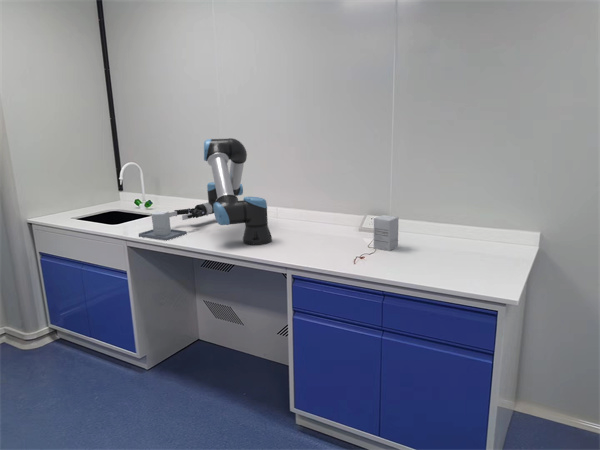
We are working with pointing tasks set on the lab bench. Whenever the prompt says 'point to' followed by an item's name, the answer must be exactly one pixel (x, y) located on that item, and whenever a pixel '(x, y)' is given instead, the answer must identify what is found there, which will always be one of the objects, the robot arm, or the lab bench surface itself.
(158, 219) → the supplement box
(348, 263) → the lab bench surface
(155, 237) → the tray
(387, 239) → the supplement box
